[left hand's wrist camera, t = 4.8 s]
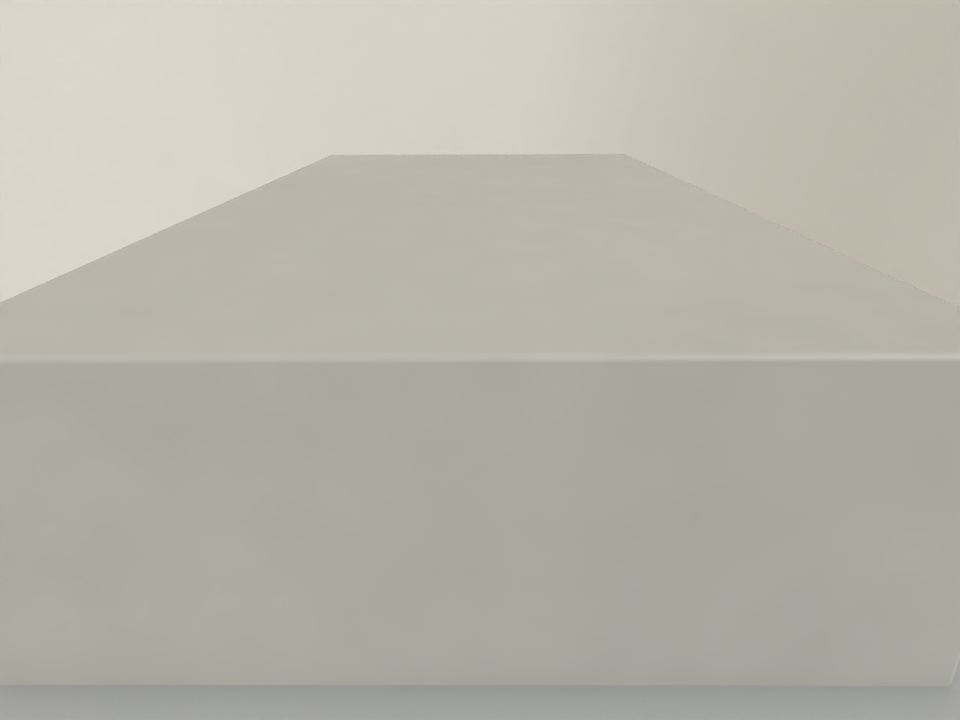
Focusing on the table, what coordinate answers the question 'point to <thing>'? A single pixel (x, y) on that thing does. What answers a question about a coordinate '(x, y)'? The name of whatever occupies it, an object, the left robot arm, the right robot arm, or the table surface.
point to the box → (479, 443)
